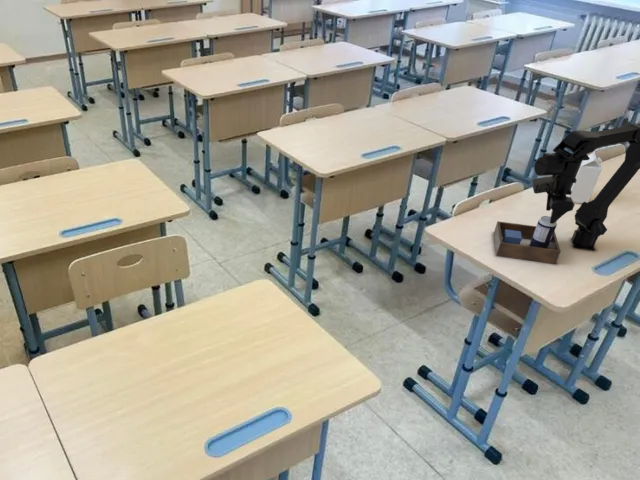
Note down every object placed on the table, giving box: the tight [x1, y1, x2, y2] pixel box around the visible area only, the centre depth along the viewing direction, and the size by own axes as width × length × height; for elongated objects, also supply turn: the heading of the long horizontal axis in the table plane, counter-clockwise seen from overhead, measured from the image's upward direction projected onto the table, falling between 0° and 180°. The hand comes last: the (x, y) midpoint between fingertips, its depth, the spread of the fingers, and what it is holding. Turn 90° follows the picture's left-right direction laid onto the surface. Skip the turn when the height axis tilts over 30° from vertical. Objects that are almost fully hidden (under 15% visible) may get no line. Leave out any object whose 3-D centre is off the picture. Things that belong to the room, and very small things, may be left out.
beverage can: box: [528, 215, 558, 249], centre depth 187 cm, size 6×6×12 cm
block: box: [502, 229, 523, 245], centre depth 191 cm, size 5×5×5 cm
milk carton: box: [566, 150, 603, 204], centre depth 214 cm, size 7×7×19 cm
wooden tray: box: [493, 220, 561, 265], centre depth 190 cm, size 19×16×5 cm
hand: (549, 216), depth 183 cm, fingers open, 9 cm apart
